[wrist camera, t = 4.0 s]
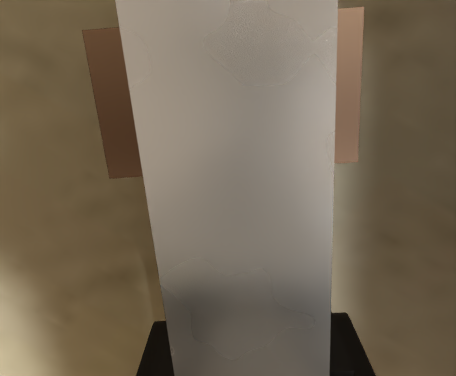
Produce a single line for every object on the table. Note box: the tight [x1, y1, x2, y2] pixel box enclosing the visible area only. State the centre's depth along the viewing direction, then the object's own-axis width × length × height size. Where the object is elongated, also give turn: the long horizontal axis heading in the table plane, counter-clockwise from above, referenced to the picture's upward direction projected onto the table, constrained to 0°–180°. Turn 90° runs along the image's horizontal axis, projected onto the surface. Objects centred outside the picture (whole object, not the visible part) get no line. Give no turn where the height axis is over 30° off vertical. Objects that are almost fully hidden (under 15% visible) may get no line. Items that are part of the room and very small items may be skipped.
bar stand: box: [82, 7, 364, 178], centre depth 12 cm, size 22×6×6 cm, turn 4°
